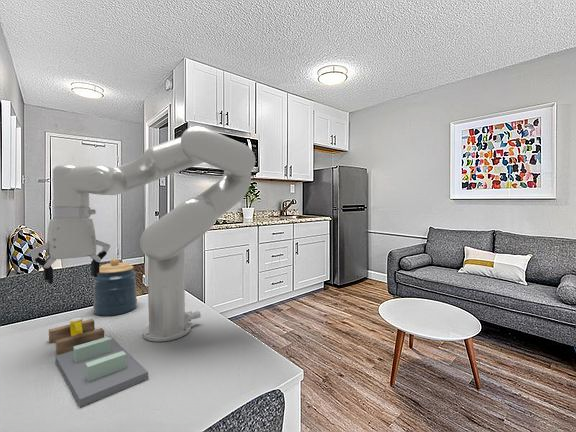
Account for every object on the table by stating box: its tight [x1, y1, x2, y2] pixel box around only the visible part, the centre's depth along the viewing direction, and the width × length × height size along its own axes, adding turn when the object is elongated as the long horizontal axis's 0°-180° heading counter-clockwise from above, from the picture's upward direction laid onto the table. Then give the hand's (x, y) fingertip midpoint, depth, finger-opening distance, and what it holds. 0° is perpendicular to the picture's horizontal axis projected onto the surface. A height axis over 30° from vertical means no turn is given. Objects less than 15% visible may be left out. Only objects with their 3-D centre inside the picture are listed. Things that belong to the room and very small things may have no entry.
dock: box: [54, 336, 149, 408], centre depth 66 cm, size 12×22×4 cm, turn 47°
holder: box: [48, 318, 105, 356], centre depth 80 cm, size 10×11×3 cm
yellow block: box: [69, 317, 83, 336], centre depth 80 cm, size 6×3×6 cm, turn 48°
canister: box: [92, 257, 138, 317], centre depth 103 cm, size 13×13×18 cm
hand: (73, 279), depth 79 cm, fingers open, 9 cm apart
